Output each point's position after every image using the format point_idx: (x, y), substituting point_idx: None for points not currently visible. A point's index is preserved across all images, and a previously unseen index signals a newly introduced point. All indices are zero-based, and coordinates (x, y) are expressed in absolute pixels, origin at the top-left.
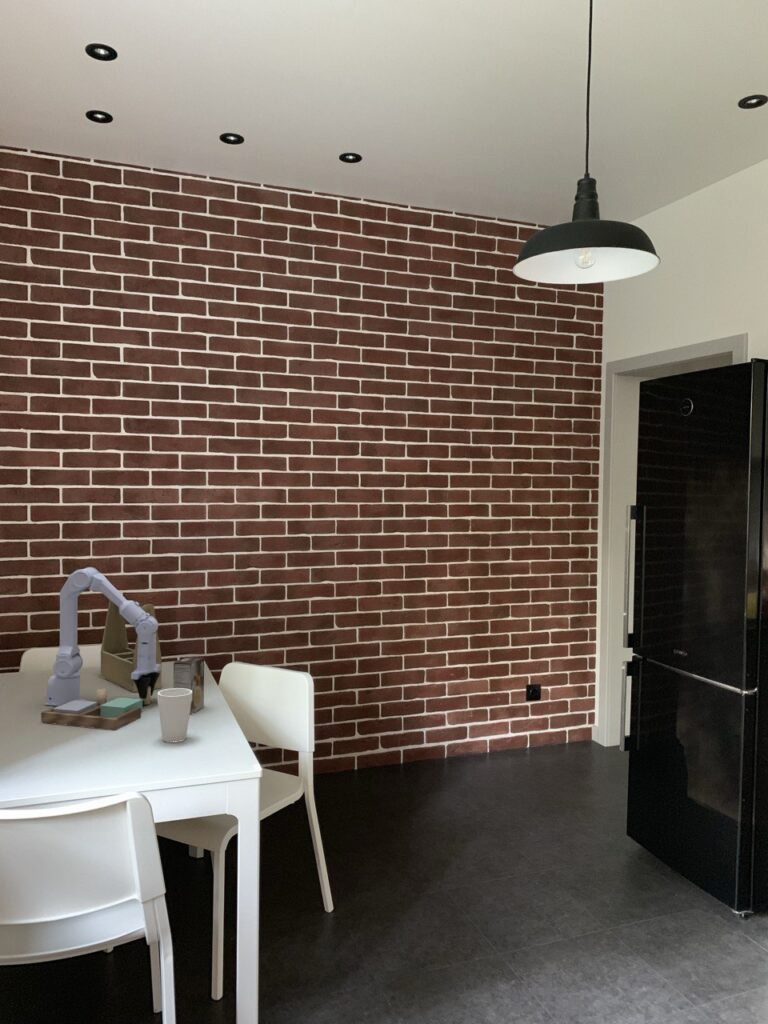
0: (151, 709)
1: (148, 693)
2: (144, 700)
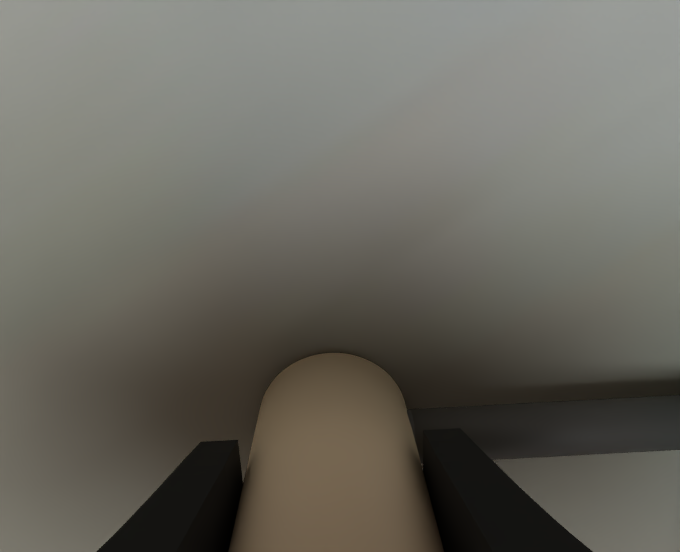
0: (576, 160)
1: (381, 470)
2: (414, 434)
